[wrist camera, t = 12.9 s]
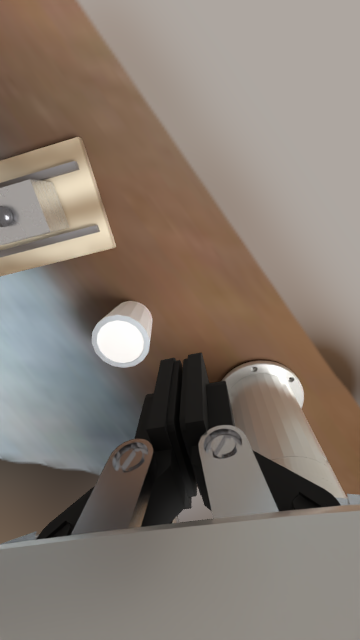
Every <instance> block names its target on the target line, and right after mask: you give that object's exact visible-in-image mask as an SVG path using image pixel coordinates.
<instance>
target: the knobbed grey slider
mask: <svg viewBox="0 0 360 640" xmlns="http://www.w3.org/2000/svg"><path fill="white" fill-rule="evenodd" d="M66 228H69V224H68V222H67V219H66V216H65V214H64V211H63V208H62V205H61V203H60V200H59V197H58V194H57V192H56V189H55V186H54V183H53V182H48V181H40V180H32V179H29V180H25V181H22V182H19V183H15V184H12V185H9V186H5V187H2V188H0V246H1V245H5V244H9V243H13V242H17V241H21V240H24V239H28V238H32V237H36V236H39V235H43V234H47V233H51V232H54V231H58V230H62V229H66Z"/></svg>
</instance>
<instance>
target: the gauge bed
mask: <svg viewBox="0 0 360 640" xmlns="http://www.w3.org/2000/svg"><path fill="white" fill-rule="evenodd" d="M29 179H32V180H40V181H48V182H53V183H54V186H55V189H56V192H57V194H58V197H59V200H60V203H61V205H62V208H63V211H64V214H65V216H66V219H67V222H68V224H69V228H66V229H62V230H58V231H54V232H51V233H47V234H43V235H39V236H36V237H32V238H28V239H24V240H21V241H17V242H13V243H9V244H5V245H1V246H0V276H4V275H8V274H12V273H16V272H20V271H24V270H27V269H31V268H35V267H39V266H43V265H47V264H51V263H55V262H59V261H63V260H67V259H71V258H75V257H79V256H83V255H87V254H91V253H95V252H99V251H103V250H107V249H111V248H114V247H116V244H115V241H114V238H113V235H112V231H111V228H110V225H109V222H108V219H107V216H106V212H105V209H104V206H103V203H102V200H101V197H100V194H99V190H98V187H97V184H96V181H95V178H94V175H93V172H92V168H91V165H90V162H89V159H88V156H87V153H86V149H85V146H84V143H83V140H82V139H81V138H80V137H76V138H72V139H69V140H66V141H63V142H59V143H56V144H53V145H50V146H46V147H43V148H40V149H37V150H34V151H30V152H27V153H24V154H21V155H17V156H14V157H11V158H8V159H4V160H1V161H0V188H2V187H5V186H9V185H12V184H15V183H19V182H22V181H25V180H29Z"/></svg>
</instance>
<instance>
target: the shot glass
mask: <svg viewBox="0 0 360 640" xmlns="http://www.w3.org/2000/svg"><path fill="white" fill-rule="evenodd" d="M152 321H153V319H152V316H151V313H150V311H149V310H148V309H147V307H146V306H144V305H143V304H141V303H139V302H135V301H126V302H122V303H121V304H120V305H118V306H117V307H116V308H114V309H113V310H112V311H111V312H110V313H109V314H107V315H106V316H105V317H104V318H103V319H102V320H100V321H99V322H98V323H97V325H96V326H95V328H94V330H93V332H92V345H93V347H94V350H95V352H96V354H97V355H98V356H99V357H100V358H101V359H102V360H103V361H104V362H106V363H108V364H110V365H112V366H116V367H122V368H126V367H131V366H135V365H137V364H138V363H140V362H141V361H143V360H144V358H145V357H146V355H147V354H148V352H149V345H150V337H151V329H152Z"/></svg>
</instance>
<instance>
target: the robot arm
mask: <svg viewBox="0 0 360 640" xmlns="http://www.w3.org/2000/svg"><path fill="white" fill-rule="evenodd" d="M303 401H304V392H303V387H302V385H301V383H300V381H299V379H298V378H297V376H296V375H295V374H294V373H293V372H292V371H291V370H290V369H289V368H287V367H285V366H284V365H281V364H279V363H276V362H272V361H252V362H248V363H245V364H242V365H240V366H238V367H236V368H234V369H233V370H232V371H230V372H229V373H228V374H227V375H226V376H225V377H224V378H223V380H222V381H220V382H215V383H209V380H208V376H207V372H206V368H205V364H204V360H203V356H202V353H196V354H191V355H188V359H184V361H183V367H182V364H181V361H180V360H178V361H176V360H175V358H170V359H165V360H161V363H160V367H159V372H158V377H157V381H156V386H155V391H154V393H153V394H147V395H146V397H145V400H144V404H143V408H142V412H141V416H140V419H139V423H138V427H137V431H136V435H135V439H132V440H129V441H127V442H124V443H123V444H121V445H120V446H118V447H117V448H116V449H115V450H114V451H113V452H112V454H111V455H110V457H109V459H108V461H107V463H106V465H105V467H104V469H103V471H102V473H101V475H100V477H99V479H98V481H97V483H96V485H95V486H94V487H93V488H92V489H90V490H89V491H88V492H87V493H86V494H85V495H83V496H82V497H81V498H80V499H78V500H77V501H76V502H75V503H73V504H72V505H71V506H70V507H69V508H67V509H66V510H65V511H64V512H63V513H61V514H60V515H59V516H58V517H56V518H55V519H54V520H53V521H52V522H50V523H49V524H48V525H47V526H46V527H45V528H44V529H43V530H42V532H41V533H40V535H38V533H37V532H33V533H30V534H27V535H25V536H22V537H19V538H16V539H13V540H11V541H8V542H5V543H2V544H0V640H360V495H354V494H347V497H348V499H347V497H346V495H345V493H344V491H343V489H342V488H341V486H340V484H339V482H338V480H337V478H336V476H335V474H334V472H333V470H332V468H331V466H330V464H329V462H328V460H327V458H326V456H325V454H324V452H323V450H322V448H321V446H320V445H319V443H318V441H317V439H316V437H315V435H314V433H313V431H312V429H311V427H310V425H309V423H308V421H307V419H306V417H305V415H304V413H303V411H302V409H301V408H302V405H303ZM197 485H198V488H199V492H200V495H202V499H203V501H204V505H205V506H206V507H207V508H208V509H210V510H211V511H212V515H213V519H207V520H198V521H189V522H180V523H179V520H178V514H179V513H180V512H181V511H182V510H183V509H189V508H191V497H193V496H196V495H197Z"/></svg>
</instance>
